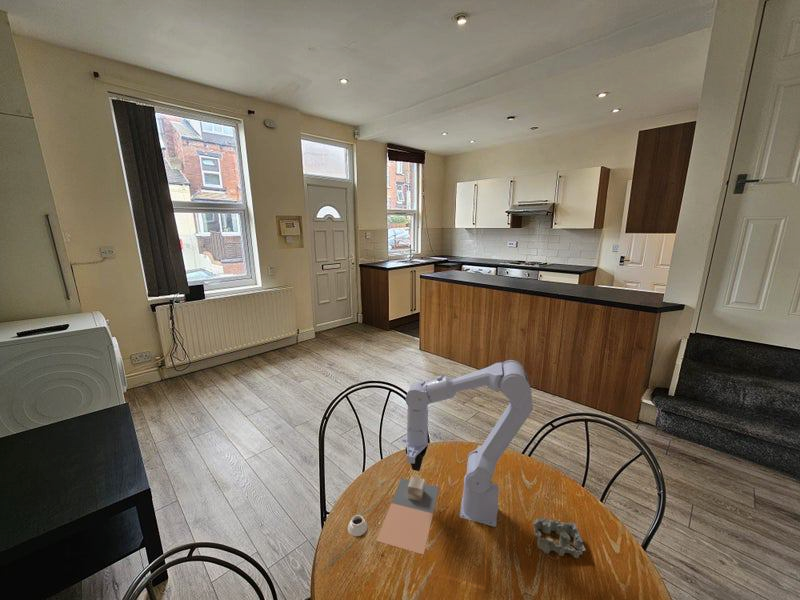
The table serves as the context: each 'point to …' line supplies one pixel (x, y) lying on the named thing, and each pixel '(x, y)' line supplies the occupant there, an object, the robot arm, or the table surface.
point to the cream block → (416, 488)
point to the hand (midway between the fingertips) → (416, 468)
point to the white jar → (357, 526)
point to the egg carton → (564, 537)
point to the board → (409, 519)
